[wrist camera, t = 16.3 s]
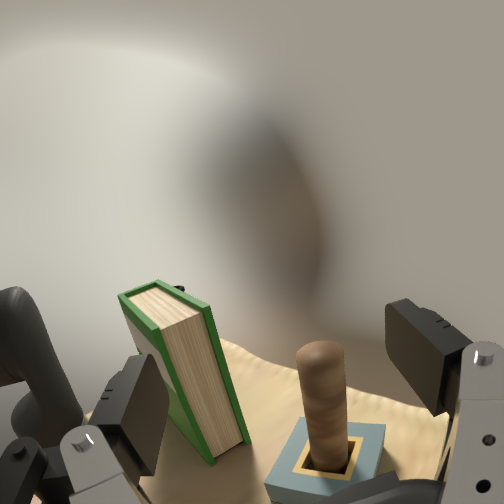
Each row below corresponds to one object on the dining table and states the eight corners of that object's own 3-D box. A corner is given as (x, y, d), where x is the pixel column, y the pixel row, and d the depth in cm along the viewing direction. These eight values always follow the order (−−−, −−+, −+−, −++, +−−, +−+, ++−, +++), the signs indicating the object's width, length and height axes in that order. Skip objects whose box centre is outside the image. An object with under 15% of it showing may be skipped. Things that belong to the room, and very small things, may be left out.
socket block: (270, 500, 31) (263, 482, 30) (303, 438, 41) (300, 416, 40) (363, 517, 25) (365, 500, 24) (383, 446, 35) (385, 424, 34)
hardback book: (251, 442, 42) (209, 305, 36) (211, 466, 38) (151, 330, 32) (197, 393, 57) (158, 279, 50) (164, 410, 53) (117, 295, 47)
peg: (309, 482, 32) (288, 366, 27) (320, 457, 36) (304, 339, 31) (342, 487, 30) (337, 369, 25) (351, 461, 33) (347, 341, 28)
